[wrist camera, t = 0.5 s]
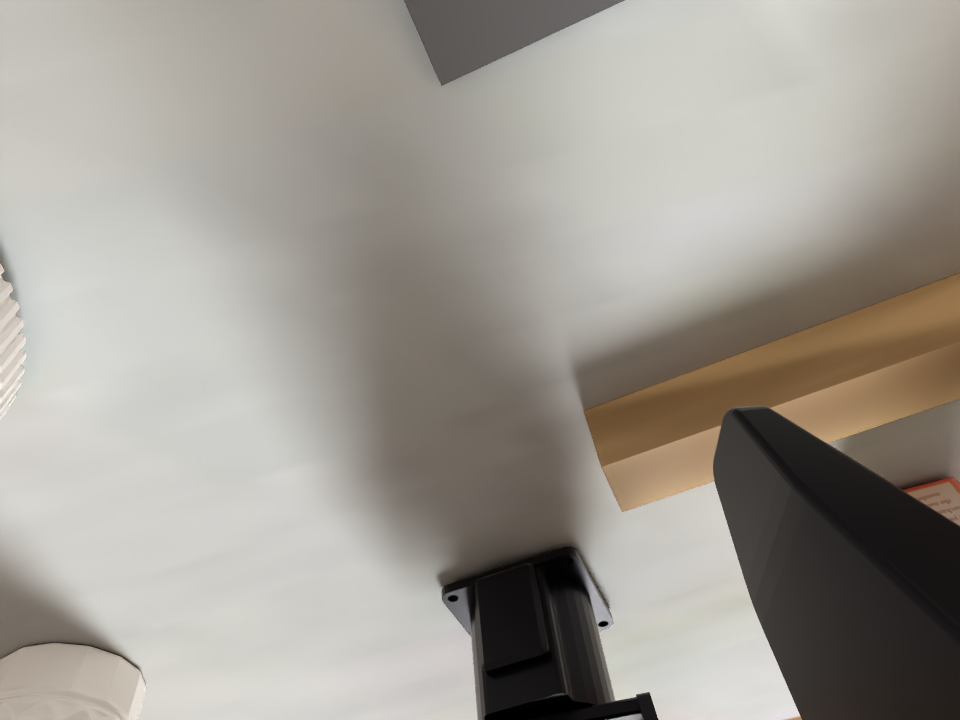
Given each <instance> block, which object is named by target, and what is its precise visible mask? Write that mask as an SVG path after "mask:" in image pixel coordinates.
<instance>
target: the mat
mask: <svg viewBox="0 0 960 720" xmlns="http://www.w3.org/2000/svg"><path fill="white" fill-rule="evenodd" d="M404 1H405V3H406V6H407V8H408V10H409V13H410V15H411V17H412V19H413V22H414V24H415V26H416V29H417V31H418V33H419V35H420V38H421V40H422V42H423V45H424V47H425V49H426V51H427V54H428V56H429V58H430V61H431V63H432V65H433V67H434V70H435V72H436V74H437V77H438V79H439V81H440V83H441V86H442V85H444V84H446V83H448V82H451V81H453V80H455V79H457V78H459V77H461V76H463V75H466V74H468V73H470V72H472V71H474V70H476V69H478V68H481V67H483V66H485V65H487V64H489V63H491V62H493V61H496V60H498V59H500V58H502V57H504V56H506V55H508V54H511V53H513V52H515V51H517V50H519V49H521V48H523V47H526V46H528V45H530V44H532V43H534V42H536V41H538V40H541V39H543V38H545V37H547V36H549V35H551V34H553V33H556V32H558V31H560V30H562V29H564V28H566V27H568V26H571V25H573V24H575V23H577V22H579V21H581V20H583V19H585V18H588V17H590V16H592V15H594V14H596V13H598V12H600V11H603V10H605V9H607V8H609V7H611V6H613V5H615V4H618V3H620V2H622V1H624V0H404Z"/></svg>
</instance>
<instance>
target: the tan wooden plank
mask: <svg viewBox="0 0 960 720" xmlns="http://www.w3.org/2000/svg"><path fill="white" fill-rule="evenodd" d="M958 399H960V273H958V274H956V275H953V276H950V277H947V278H945V279H942V280H939V281H936V282H934V283H931V284H928V285H926V286H923V287H920V288H917V289H915V290H912V291H909V292H907V293H904V294H901V295H898V296H896V297H893V298H890V299H887V300H885V301H882V302H879V303H877V304H874V305H871V306H868V307H866V308H863V309H860V310H858V311H855V312H852V313H849V314H847V315H844V316H841V317H838V318H836V319H833V320H830V321H828V322H825V323H822V324H819V325H817V326H814V327H811V328H809V329H806V330H803V331H800V332H798V333H795V334H792V335H789V336H787V337H784V338H781V339H779V340H776V341H773V342H770V343H768V344H765V345H762V346H760V347H757V348H754V349H751V350H749V351H746V352H743V353H740V354H738V355H735V356H732V357H730V358H727V359H724V360H721V361H719V362H716V363H713V364H711V365H708V366H705V367H702V368H700V369H697V370H694V371H691V372H689V373H686V374H683V375H681V376H678V377H675V378H672V379H670V380H667V381H664V382H662V383H659V384H656V385H653V386H651V387H648V388H645V389H642V390H640V391H637V392H634V393H632V394H629V395H626V396H623V397H621V398H618V399H615V400H613V401H610V402H607V403H604V404H602V405H599V406H596V407H593V408H591V409H588V410H585V411H584V413H585V416H586V419H587V423H588V426H589V429H590V432H591V435H592V439H593V442H594V445H595V448H596V451H597V455H598V458H599V461H600V464H601V467H602V470H603V472H604V474H605V476H606V478H607V480H608V483H609V485H610V487H611V489H612V491H613V494H614V496H615V498H616V500H617V502H618V504H619V507H620V509H621V511H622V512H624V511H627V510H630V509H633V508H636V507H639V506H642V505H645V504H648V503H651V502H654V501H657V500H660V499H663V498H666V497H669V496H672V495H675V494H678V493H681V492H684V491H687V490H690V489H693V488H696V487H699V486H702V485H705V484H708V483H711V482H714V475H713V460H714V455H715V451H716V446H717V442H718V438H719V433H720V429H721V424H722V420H723V417H724V415H725V413H726V411H727V410H729V409H731V408H733V407H744V406H757V405H760V406H766V407H768V408H770V409H772V410H774V411H776V412H777V413H779V414H780V415H782V416H784V417H785V418H787V419H788V420H790V421H792V422H793V423H795V424H797V425H798V426H800V427H801V428H803V429H805V430H806V431H808V432H809V433H811V434H813V435H814V436H816V437H818V438H819V439H821V440H822V441H824V442H826V443H830V442H833V441H836V440H839V439H842V438H845V437H848V436H851V435H854V434H857V433H860V432H863V431H866V430H869V429H872V428H874V427H877V426H880V425H883V424H886V423H889V422H892V421H895V420H898V419H901V418H904V417H907V416H910V415H913V414H916V413H919V412H922V411H925V410H928V409H931V408H934V407H937V406H940V405H943V404H946V403H949V402H952V401H955V400H958Z"/></svg>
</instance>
